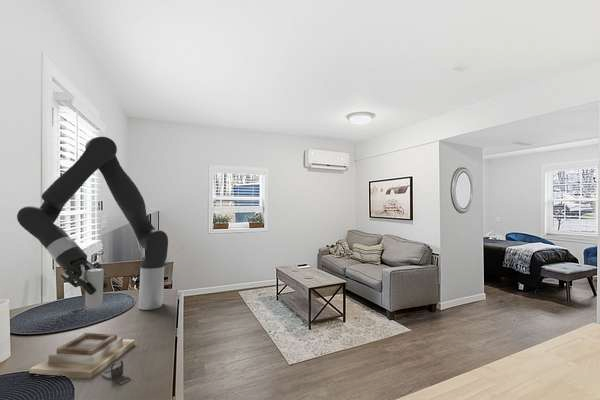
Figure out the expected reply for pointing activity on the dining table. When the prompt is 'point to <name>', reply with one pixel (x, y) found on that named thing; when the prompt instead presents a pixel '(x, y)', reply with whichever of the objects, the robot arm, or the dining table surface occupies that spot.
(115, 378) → the strap clip
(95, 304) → the beverage can
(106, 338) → the stand
